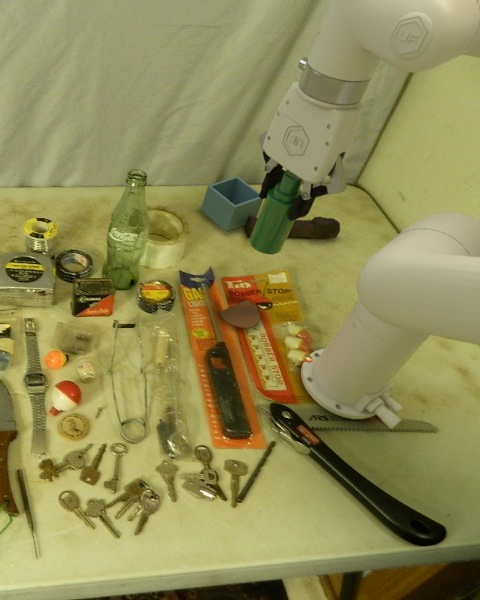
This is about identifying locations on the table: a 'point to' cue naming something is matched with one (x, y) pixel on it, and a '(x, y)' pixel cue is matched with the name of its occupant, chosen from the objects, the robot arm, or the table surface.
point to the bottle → (276, 215)
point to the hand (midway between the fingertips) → (281, 205)
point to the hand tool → (305, 228)
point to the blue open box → (231, 203)
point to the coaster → (241, 315)
